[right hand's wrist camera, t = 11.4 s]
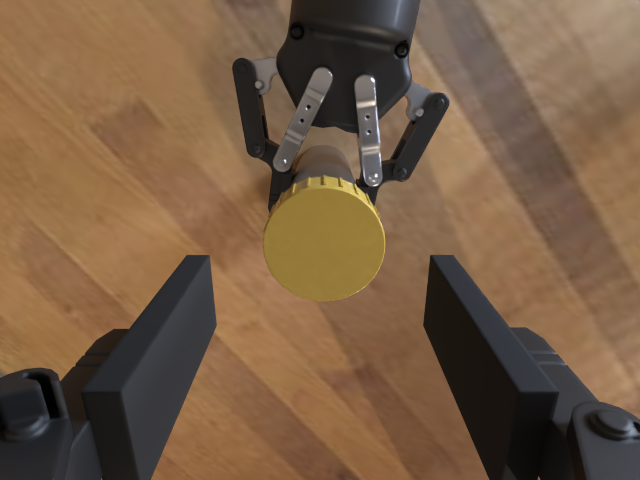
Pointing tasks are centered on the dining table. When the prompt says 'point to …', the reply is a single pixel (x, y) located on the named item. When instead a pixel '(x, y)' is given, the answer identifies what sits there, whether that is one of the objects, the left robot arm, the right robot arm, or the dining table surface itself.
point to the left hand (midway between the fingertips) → (317, 226)
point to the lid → (324, 239)
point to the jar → (323, 165)
